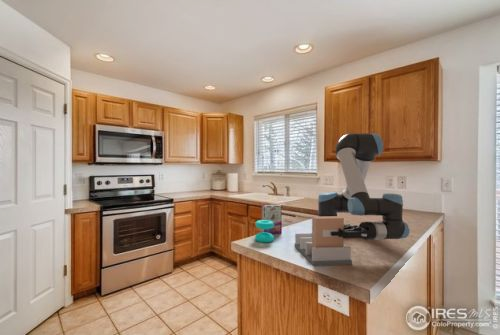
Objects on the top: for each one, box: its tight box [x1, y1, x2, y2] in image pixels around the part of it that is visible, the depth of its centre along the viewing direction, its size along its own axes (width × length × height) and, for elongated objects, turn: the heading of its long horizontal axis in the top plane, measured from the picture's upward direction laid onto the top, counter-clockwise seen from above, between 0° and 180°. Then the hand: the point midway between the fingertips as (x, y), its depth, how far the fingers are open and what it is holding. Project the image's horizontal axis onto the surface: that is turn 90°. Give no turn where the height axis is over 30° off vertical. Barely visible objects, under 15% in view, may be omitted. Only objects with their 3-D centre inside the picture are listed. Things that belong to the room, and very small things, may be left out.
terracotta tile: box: [311, 215, 345, 248], centre depth 99 cm, size 4×12×14 cm, turn 97°
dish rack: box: [294, 232, 353, 267], centre depth 106 cm, size 24×16×6 cm, turn 7°
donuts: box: [254, 219, 275, 243], centre depth 126 cm, size 10×10×10 cm
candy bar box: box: [261, 204, 283, 235], centre depth 141 cm, size 11×5×16 cm, turn 105°
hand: (320, 231), depth 99 cm, fingers closed on terracotta tile, 4 cm apart
